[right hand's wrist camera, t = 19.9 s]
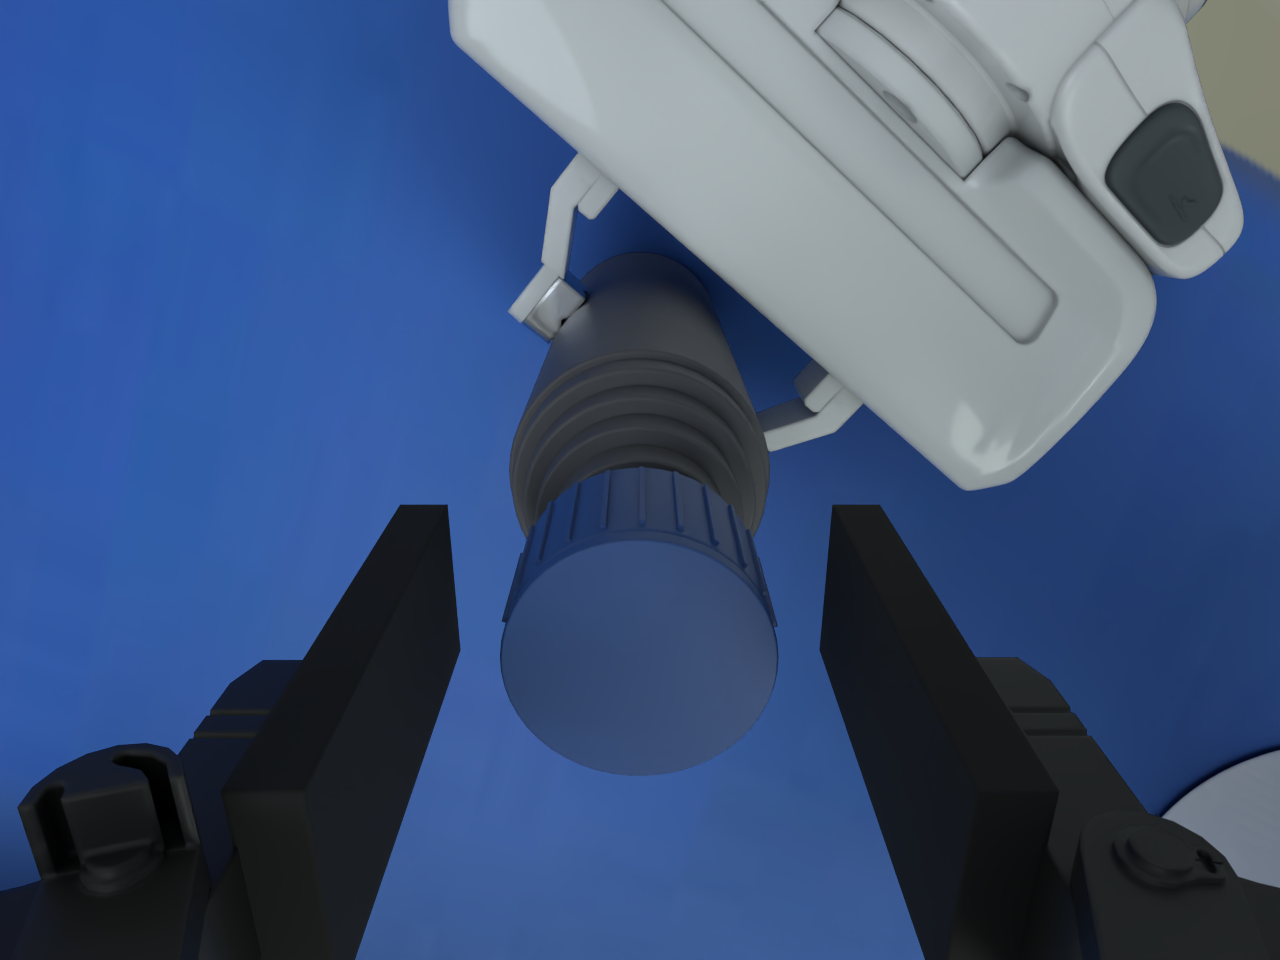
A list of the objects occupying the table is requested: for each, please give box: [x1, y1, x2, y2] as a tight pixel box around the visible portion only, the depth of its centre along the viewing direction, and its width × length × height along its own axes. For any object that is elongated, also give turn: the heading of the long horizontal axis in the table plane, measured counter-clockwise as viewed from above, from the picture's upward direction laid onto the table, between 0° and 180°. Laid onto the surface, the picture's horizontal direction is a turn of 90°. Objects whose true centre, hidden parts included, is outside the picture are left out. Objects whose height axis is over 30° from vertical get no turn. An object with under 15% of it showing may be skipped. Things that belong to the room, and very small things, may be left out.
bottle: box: [509, 252, 770, 539], centre depth 22 cm, size 6×6×21 cm
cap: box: [500, 466, 778, 776], centre depth 13 cm, size 4×4×3 cm
